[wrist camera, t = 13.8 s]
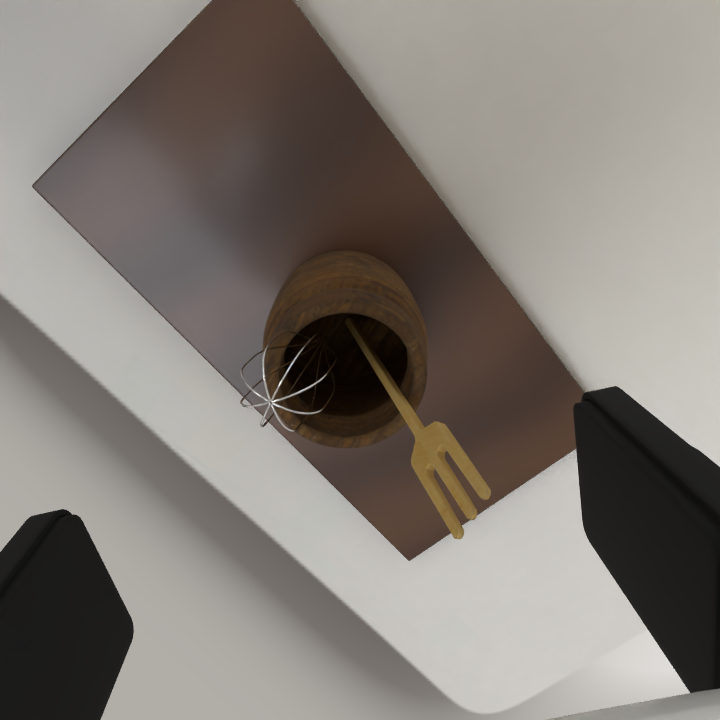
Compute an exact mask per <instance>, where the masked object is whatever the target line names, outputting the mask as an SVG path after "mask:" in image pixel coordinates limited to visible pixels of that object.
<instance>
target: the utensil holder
mask: <svg viewBox="0 0 720 720" xmlns="http://www.w3.org/2000/svg"><path fill="white" fill-rule="evenodd" d="M261 352H263V359H262V373H263V379H261V380H260V381H259V382H258V383H257V384H255V385H254V386H253V387H252V388H251V387H250V386H249V385H248V384H247V382H246V381H245V379H244V377H243V368H244V367H245V366H246V365H247V364H248V363H249V362H250V361H251V360H252V359H253V358H254V357H255V356H256V355H258V354H259V353H261ZM427 356H428V338H427V331H426V327H425V323H424V320H423V317H422V314H421V312H420V309H419V307H418V305H417V303H416V301H415V299H414V297H413V295H412V294H411V292H410V290H409V288H408V287H407V285H406V284H405V282H404V281H403V279H402V278H401V277H400V276H399V275H398V274H397V273H396V272H395V271H394V270H393V269H392V268H391V267H390V266H389V265H387V264H386V263H384V262H383V261H381V260H379V259H377V258H375V257H373V256H371V255H368V254H365V253H361V252H356V251H333V252H328V253H324V254H321V255H318V256H316V257H314V258H312V259H310V260H308V261H306V262H305V263H303V264H302V265H301V266H299V267H298V268H297V269H296V270H295V271H294V272H293V273H292V274H291V275H290V276H289V277H288V279H287V280H286V281H285V283H284V284H283V286H282V287H281V289H280V291H279V293H278V295H277V297H276V299H275V301H274V303H273V306H272V308H271V310H270V313H269V315H268V319H267V322H266V325H265V330H264V336H263V350H262V351H260V352H258V353H256V354H255V355H254V356H253V357H251V358H250V359H249V360H248V361H247V362H246V363H245V364H244V365H243V367H242V368H241V377H242V379H243V381H244V383H245V384H246V385H247V387H248V388H249V389H250V390H249V391H248V392H247V394H246V395H245V396H244V397H243V398H242V399H241V401H240V404H241V405H242V406H244V407H256V406H261V405H266V404H269V405H268V407H267V409H266V411H265V413H264V416H263V418H262V421H261V425H260V426H261V427H264V426H265V425H266V424H267V423H268V421H269V420H270V419H271V418H272V416H273V415H274V414H275V415H276V417H277V419H278V421H279V422H280V423H281V425H282V426H283V427H284V428H285V429H287V430H289V431H295V432H296V433H297V434H299V435H300V436H302V437H304V438H305V439H307V440H309V441H312V442H314V443H317V444H319V445H323V446H327V447H332V448H341V449H351V448H360V447H365V446H369V445H372V444H375V443H378V442H380V441H382V440H384V439H386V438H388V437H390V436H392V435H393V434H395V433H396V432H397V431H399V430H400V429H401V428H402V427H403V426H404V425H405V424H406V423H407V424H408V426H409V428H410V429H411V431H412V433H413V434H414V436H415V444H414V449H413V453H412V457H411V465H412V467H413V469H414V471H415V473H416V474H417V476H418V478H419V479H420V481H421V483H422V484H423V486H424V488H425V489H426V491H427V493H428V495H429V496H430V498H431V500H432V501H433V503H434V505H435V506H436V508H437V510H438V511H439V513H440V515H441V516H442V518H443V520H444V522H445V523H446V525H447V527H448V528H449V530H450V532H451V533H452V535H453V537H454V538H455V539H461V538H462V537H463V535H464V529H463V527H462V526H461V524H460V522H459V520H458V519H457V517H456V515H455V513H454V512H453V510H452V508H451V506H450V504H449V503H448V501H447V499H446V497H445V496H444V494H443V492H442V490H441V489H440V487H439V485H438V483H437V481H436V480H435V478H434V470H435V469H436V471H437V472H438V474H439V476H440V477H441V479H442V480H443V482H444V483H445V485H446V486H447V488H448V489H449V491H450V493H451V494H452V496H453V497H454V499H455V500H456V502H457V503H458V505H459V506H460V508H461V510H462V511H463V513H464V514H465V516H466V517H467V519H470V520H474V519H475V518H476V516H477V509H476V508H475V506H474V504H473V503H472V501H471V500H470V498H469V496H468V495H467V493H466V492H465V490H464V488H463V487H462V485H461V484H460V482H459V480H458V479H457V477H456V476H455V474H454V472H453V471H452V469H451V468H450V466H449V464H448V463H447V461H446V460H445V452H446V451H447V452H448V453H449V454H450V456H451V457H452V459H453V460H454V461H455V463H456V464H457V466H458V467H459V468H460V470H461V471H462V473H463V474H464V476H465V477H466V478H467V480H468V481H469V483H470V484H471V485H472V487H473V488H474V490H475V491H476V492H477V494H478V495H479V497H480V498H481V499H483V500H487V499H489V497H490V496H491V490H490V488H489V487H488V485H487V484H486V482H485V481H484V479H483V478H482V477H481V475H480V474H479V472H478V471H477V469H476V468H475V466H474V465H473V464H472V462H471V461H470V459H469V458H468V456H467V455H466V453H465V452H464V450H463V449H462V448H461V446H460V445H459V443H458V442H457V440H456V439H455V437H454V436H453V435H452V433H451V432H450V430H449V429H448V427H447V426H446V425H445V424H443V423H440V422H437V421H434V422H433V423H431V424H430V425H428V426H427V427H424V426H423V424H422V423H421V421H420V420H419V418H418V416H417V415H416V413H415V412H416V410H417V409H418V407H419V405H420V403H421V400H422V398H423V395H424V392H425V388H426V382H427V373H428V360H427ZM264 371H265V373H264ZM263 380H264V385H265V389H266V393H267V396H268V399H269V400H268V399H266V398H264V397H263V396H261V395H260V394H258V393H257V392H256V391H254V390H253V389H254V388H255V387H256V386H257V385H258V384H259V383H260V382H261V381H263ZM251 391H253V392H254V393H255V394H256V395H258V396H259V397H261V398H262V399H264V400H266V401H268V402H266V403H261V404H256V405H244V404H242V401H243V400H244V398H245V397H246V396H247V395H248V394H249V393H250V392H251ZM270 402H271V403H270ZM270 405H271V407H272V409H273V411H274V413H273V414H272V415H271V416H270V417H269V419H268V420H267V421H266V422H265V423H264V424H263V421H264V418H265V416H266V413H267V411H268V409H269V407H270ZM274 408H275V409H274ZM276 412H277V413H278V415H279V416H280V417H281V419H282V420H283V421H284V422H285V423H286V424H287V425H288V426H289V427H290V428H291V429H289V428H287V427H286V426H285V425H284V424H283V423H282V422H281V420H280V419H279V417H278V415H277V413H276ZM262 424H263V425H262Z"/></svg>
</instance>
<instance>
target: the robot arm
mask: <svg viewBox="0 0 720 720" xmlns="http://www.w3.org/2000/svg"><path fill="white" fill-rule="evenodd" d="M573 415H574V426H575V438H576V450H577V462H578V474H579V486H580V497H581V509H582V521H583V526H584V530H585V533H586V535H587V538H588V540H589V542H590V543H591V545H592V546H593V548H594V549H595V551H596V552H597V554H598V555H599V557H600V558H601V560H602V561H603V563H604V564H605V566H606V567H607V569H608V570H609V572H610V573H611V575H612V576H613V578H614V579H615V581H616V582H617V584H618V585H619V587H620V588H621V590H622V591H623V593H624V594H625V596H626V597H627V599H628V600H629V602H630V603H631V605H632V606H633V608H634V609H635V611H636V612H637V614H638V615H639V617H640V618H641V620H642V621H643V623H644V624H645V626H646V627H647V629H648V630H649V632H650V633H651V635H652V636H653V637H654V639H655V641H656V642H657V644H658V645H659V647H660V648H661V650H662V651H663V653H664V654H665V655H666V657H667V659H668V660H669V662H670V663H671V665H672V666H673V668H674V669H675V670H676V672H677V673H678V675H679V676H680V678H681V679H682V681H683V683H684V684H685V686H686V687H687V689H688V690H689V691H690V693H689V694H684V695H678V696H672V697H666V698H662V699H655V700H650V701H644V702H639V703H634V704H628V705H623V706H617V707H611V708H606V709H600V710H595V711H590V712H584V713H578V714H573V715H568V716H563V717H558V718H553V719H548V720H720V467H719V466H718V465H717V464H715V463H714V462H713V461H712V460H710V459H709V458H708V457H707V456H705V455H704V454H703V453H702V452H700V451H699V450H697V449H696V448H694V447H692V446H690V445H689V444H688V443H687V442H685V441H684V440H683V439H682V438H680V437H679V436H678V435H677V434H676V433H674V432H673V431H672V430H671V429H669V428H668V427H667V426H666V425H664V424H663V423H662V422H661V421H660V420H658V419H657V418H656V417H655V416H653V415H652V414H651V413H650V412H649V411H647V410H646V409H645V408H644V407H642V406H641V405H640V404H639V403H637V402H636V401H635V400H634V399H633V398H631V397H630V396H629V395H628V394H626V393H625V392H624V391H623V390H622V389H620V388H619V387H617V386H614V387H609V388H605V389H600V390H596V391H591V392H587V393H584V394H583V395H582V399H581V402H578V403H575V404H574V407H573ZM133 631H134V630H133V622H132V619H131V617H130V615H129V613H128V611H127V609H126V607H125V605H124V603H123V601H122V599H121V597H120V595H119V593H118V591H117V589H116V587H115V585H114V583H113V581H112V579H111V577H110V575H109V573H108V571H107V569H106V567H105V565H104V563H103V561H102V559H101V557H100V555H99V553H98V551H97V549H96V547H95V545H94V543H93V541H92V539H91V537H90V535H89V533H88V531H87V529H86V527H85V525H84V523H83V521H82V520H81V518H80V517H79V516H77V515H72V514H71V513H70V512H69V511H67V510H64V509H62V510H57V511H52V512H48V513H44V514H39V515H34V516H31V517H30V518H29V519H27V520H26V521H25V523H24V524H23V525H22V526H21V528H20V529H19V530H18V531H17V532H16V534H15V535H14V536H13V538H12V539H11V540H10V541H9V542H8V544H7V545H6V546H5V547H4V548H3V550H2V551H1V552H0V720H100V719H101V717H102V714H103V712H104V709H105V707H106V704H107V702H108V699H109V697H110V694H111V692H112V689H113V687H114V684H115V682H116V679H117V677H118V674H119V672H120V669H121V667H122V664H123V662H124V659H125V657H126V654H127V652H128V649H129V647H130V644H131V642H132V639H133Z"/></svg>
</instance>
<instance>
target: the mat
mask: <svg viewBox="0 0 720 720" xmlns="http://www.w3.org/2000/svg"><path fill="white" fill-rule="evenodd" d="M32 187H33V188H34V189H35V190H36V191H37V192H38V193H39V194H40V195H41V196H42V197H43V198H44V199H45V200H46V201H47V202H48V203H49V204H50V205H51V206H52V207H53V208H54V209H55V210H56V211H57V212H58V213H59V214H60V215H61V216H62V217H63V218H64V219H65V220H66V221H67V222H68V223H69V224H70V225H71V226H72V227H73V228H74V229H75V230H76V231H77V232H78V233H79V234H80V235H81V236H82V237H83V238H84V239H85V240H86V241H87V242H88V243H89V244H90V245H91V246H92V247H93V248H94V249H95V250H96V251H97V252H98V253H99V254H100V255H101V256H102V257H103V258H104V259H105V260H106V261H107V262H108V263H109V264H110V265H111V266H112V267H113V268H114V269H115V270H116V271H117V272H118V273H119V274H120V275H121V276H122V277H123V278H124V279H125V280H126V281H127V282H128V283H129V284H130V285H131V286H132V287H133V288H134V289H136V290H137V291H138V292H139V293H140V294H141V295H142V296H143V297H144V298H145V299H146V300H147V301H148V302H149V303H150V304H151V305H152V306H153V307H154V308H155V309H156V310H157V311H158V312H159V313H160V314H161V315H162V316H163V317H164V318H165V319H166V320H167V321H168V322H169V323H170V324H171V325H172V326H173V327H174V328H175V329H176V330H177V331H178V332H179V333H180V334H181V335H182V336H183V337H184V338H185V339H186V340H187V341H188V342H189V343H190V344H191V345H192V346H193V347H194V348H195V349H196V350H197V351H198V352H199V353H200V354H201V355H202V356H203V357H204V358H205V359H206V360H207V361H208V362H209V363H210V364H211V365H212V366H213V367H214V368H215V369H216V370H217V371H218V372H219V373H220V374H221V375H222V376H223V377H224V378H225V379H226V380H227V381H228V382H229V383H230V384H231V385H232V386H233V387H234V388H235V389H236V390H237V391H238V392H239V393H240V394H241V395H242V396H243V397H244V396H245V395H246V394H247V392H248V391H249V390H250V389H249V388H248V387H247V385H246V384H245V383H244V381H243V379H242V377H241V368H242V367H243V365H244V364H245V363H246V362H247V361H248V360H249V359H250V358H251V357H253V356H254V355H255V354H256V353H258V352H260V351H262V350H263V336H264V330H265V325H266V322H267V319H268V315H269V313H270V310H271V308H272V306H273V303H274V301H275V299H276V297H277V295H278V293H279V291H280V289H281V287H282V286H283V284H284V283H285V281H286V280H287V279H288V277H289V276H290V275H291V274H292V273H293V272H294V271H295V270H296V269H297V268H298V267H299V266H301V265H302V264H303V263H305V262H306V261H308V260H310V259H312V258H314V257H316V256H318V255H321V254H324V253H328V252H333V251H356V252H361V253H365V254H368V255H371V256H373V257H375V258H377V259H379V260H381V261H383V262H384V263H386V264H387V265H389V266H390V267H391V268H392V269H393V270H394V271H395V272H396V273H397V274H398V275H399V276H400V277H401V278H402V279H403V281H404V282H405V284H406V285H407V287H408V288H409V290H410V292H411V294H412V295H413V297H414V299H415V301H416V303H417V305H418V307H419V309H420V312H421V314H422V317H423V320H424V323H425V327H426V331H427V338H428V356H427V360H428V373H427V382H426V388H425V392H424V395H423V398H422V400H421V403H420V405H419V407H418V409H417V410H416V412H415V413H416V415H417V416H418V418H419V420H420V421H421V423H422V424H423V426H424V427H427V426H428V425H430V424H431V423H433V422H434V421H437V422H440V423H443V424H445V425H446V426H447V427H448V429H449V430H450V432H451V433H452V435H453V436H454V437H455V439H456V440H457V442H458V443H459V445H460V446H461V448H462V449H463V450H464V452H465V453H466V455H467V456H468V458H469V459H470V461H471V462H472V464H473V465H474V466H475V468H476V469H477V471H478V472H479V474H480V475H481V477H482V478H483V479H484V481H485V482H486V484H487V485H488V487H489V488H490V490H491V496H490V497H489V499H487V500H483V499H481V498H480V497H479V495H478V494H477V492H476V491H475V490H474V488H473V487H472V485H471V484H470V483H469V481H468V480H467V478H466V477H465V476H464V474H463V473H462V471H461V470H460V468H459V467H458V466H457V464H456V463H455V461H454V460H453V459H452V457H451V456H450V454H449V453H448V452H447V451H446V452H445V460H446V461H447V463H448V464H449V466H450V468H451V469H452V471H453V472H454V474H455V476H456V477H457V479H458V480H459V482H460V484H461V485H462V487H463V488H464V490H465V492H466V493H467V495H468V496H469V498H470V500H471V501H472V503H473V504H474V506H475V508H476V509H477V515H478V514H480V513H481V512H483V511H484V510H486V509H487V508H489V507H490V506H492V505H493V504H495V503H496V502H497V501H499V500H500V499H502V498H503V497H505V496H506V495H508V494H509V493H511V492H512V491H514V490H515V489H517V488H518V487H520V486H521V485H523V484H524V483H526V482H527V481H529V480H530V479H532V478H533V477H534V476H536V475H537V474H539V473H540V472H542V471H543V470H545V469H546V468H548V467H549V466H551V465H552V464H554V463H555V462H557V461H558V460H560V459H561V458H563V457H564V456H566V455H567V454H569V453H570V452H572V451H573V450H574V449H576V438H575V426H574V415H573V407H574V404H575V403H578V402H581V399H582V395H583V394H584V392H583V390H582V389H581V388H580V386H579V385H578V384H577V382H576V381H575V380H574V378H573V377H572V376H571V374H570V373H569V372H568V370H567V369H566V368H565V366H564V365H563V363H562V362H561V361H560V359H559V358H558V357H557V355H556V354H555V353H554V351H553V350H552V349H551V347H550V346H549V345H548V343H547V342H546V340H545V339H544V338H543V336H542V335H541V334H540V332H539V331H538V330H537V328H536V327H535V326H534V324H533V323H532V322H531V320H530V319H529V318H528V316H527V315H526V313H525V312H524V311H523V309H522V308H521V307H520V305H519V304H518V303H517V301H516V300H515V299H514V297H513V296H512V295H511V293H510V292H509V290H508V289H507V288H506V286H505V285H504V284H503V282H502V281H501V280H500V278H499V277H498V276H497V274H496V273H495V272H494V270H493V269H492V268H491V266H490V265H489V263H488V262H487V261H486V259H485V258H484V257H483V255H482V254H481V253H480V251H479V250H478V249H477V247H476V246H475V245H474V243H473V242H472V241H471V239H470V238H469V236H468V235H467V234H466V232H465V231H464V230H463V228H462V227H461V226H460V224H459V223H458V222H457V220H456V219H455V218H454V216H453V215H452V213H451V212H450V211H449V209H448V208H447V207H446V205H445V204H444V203H443V201H442V200H441V199H440V197H439V196H438V195H437V193H436V192H435V191H434V189H433V188H432V186H431V185H430V184H429V182H428V181H427V180H426V178H425V177H424V176H423V174H422V173H421V172H420V170H419V169H418V168H417V166H416V165H415V163H414V162H413V161H412V159H411V158H410V157H409V155H408V154H407V153H406V151H405V150H404V149H403V147H402V146H401V145H400V143H399V142H398V141H397V139H396V138H395V136H394V135H393V134H392V132H391V131H390V130H389V128H388V127H387V126H386V124H385V123H384V122H383V120H382V119H381V118H380V116H379V115H378V113H377V112H376V111H375V109H374V108H373V107H372V105H371V104H370V103H369V101H368V100H367V99H366V97H365V96H364V95H363V93H362V92H361V91H360V89H359V88H358V86H357V85H356V84H355V82H354V81H353V80H352V78H351V77H350V76H349V74H348V73H347V72H346V70H345V69H344V68H343V66H342V65H341V64H340V62H339V61H338V59H337V58H336V57H335V55H334V54H333V53H332V51H331V50H330V49H329V47H328V46H327V45H326V43H325V42H324V41H323V39H322V38H321V36H320V35H319V34H318V32H317V31H316V30H315V28H314V27H313V26H312V24H311V23H310V22H309V20H308V19H307V18H306V16H305V15H304V14H303V12H302V11H301V9H300V8H299V7H298V5H297V4H296V3H295V1H294V0H212V1H211V2H210V3H209V4H208V5H207V6H206V7H205V8H204V9H203V10H202V11H201V12H200V13H199V14H198V15H197V16H196V17H195V18H194V19H193V20H192V21H191V22H190V23H189V24H188V25H187V26H186V28H185V29H184V30H183V31H182V32H181V33H180V34H179V35H178V36H177V37H176V38H175V39H174V40H173V41H172V42H171V43H170V44H169V45H168V46H167V47H166V48H165V49H164V50H163V51H162V52H161V53H160V54H159V55H158V56H157V57H156V58H155V59H154V60H153V61H152V62H151V64H150V65H149V66H148V67H147V68H146V69H145V70H144V71H143V72H142V73H141V74H140V75H139V76H138V77H137V78H136V79H135V80H134V81H133V82H132V83H131V84H130V85H129V86H128V87H127V88H126V89H125V90H124V91H123V92H122V93H121V94H120V95H119V96H118V97H117V98H116V100H115V101H114V102H113V103H112V104H111V105H110V106H109V107H108V108H107V109H106V110H105V111H104V112H103V113H102V114H101V115H100V116H99V117H98V118H97V119H96V120H95V121H94V122H93V123H92V124H91V125H90V126H89V127H88V128H87V129H86V130H85V131H84V132H83V133H82V134H81V135H80V137H79V138H78V139H77V140H76V141H75V142H74V143H73V144H72V145H71V146H70V147H69V148H68V149H67V150H66V151H65V152H64V153H63V154H62V155H61V156H60V157H59V158H58V159H57V160H56V161H55V162H54V163H53V164H52V165H51V166H50V167H49V168H48V169H47V170H46V171H45V173H44V174H43V175H42V176H41V177H40V178H39V179H38V180H37V181H36V182H35V183H34V184H33V185H32ZM262 359H263V352H261V353H259V354H258V355H256V356H255V357H254V358H253V359H252V360H251V361H250V362H249V363H248V364H247V365H246V366H245V367H244V368H243V377H244V379H245V381H246V382H247V384H248V385H249V386H250V387H251V388H252V387H253V386H254V385H255V384H257V383H258V382H259V381H260V380H261V379H263V373H262ZM264 373H265V371H264ZM253 390H254V391H256V392H257V393H258V394H260V395H261V396H263V397H264V398H266V399H268V396H267V393H266V389H265V385H264V380H263V381H261V382H260V383H259V384H258V385H257V386H256V387H255V388H254V389H253ZM245 399H246V400H247V401H248V402H249V403H250V404H251V405H256V404H261V403H266V402H268V401H266V400H264V399H262V398H261V397H259V396H258V395H256V394H255V393H254V392H253V391H251V392H250V393H249V394H248V395H247V396H246V397H245ZM268 400H269V399H268ZM270 403H271V402H270ZM268 405H269V404H266V405H261V406H256V407H254V408H255V409H256V410H257V411H258V412H259V413H260V414H261V415H262V416H264V413H265V411H266V409H267V407H268ZM274 409H275V408H274ZM273 413H274V411H273V409H272V407H271V405H270V407H269V409H268V411H267V413H266V416H265V419H266V420H268V419H269V417H270V416H271V415H272V414H273ZM276 413H277V412H276ZM277 415H278V413H277ZM278 417H279V419H280V420H281V422H282V423H283V424H284V425H285V426H286V427H287V428H289V429H291V428H290V427H289V426H288V425H287V424H286V423H285V422H284V421H283V420H282V419H281V417H280V416H279V415H278ZM268 422H269V423H270V424H271V425H272V426H273V427H274V428H275V429H276V430H277V431H278V432H280V433H281V434H282V435H283V436H284V437H285V438H286V439H287V440H288V441H289V442H290V443H291V444H292V445H293V446H294V447H295V448H296V449H297V450H298V451H299V452H300V453H301V454H302V455H303V456H304V457H305V458H306V459H307V460H308V461H309V462H310V463H311V464H312V465H313V466H314V467H315V468H316V469H317V470H318V471H319V472H320V473H321V474H322V475H323V476H324V477H325V478H326V479H327V480H328V481H329V482H330V483H331V484H332V485H333V486H334V487H335V488H336V489H337V490H338V491H339V492H340V493H341V494H342V495H343V496H344V497H345V498H346V499H347V500H348V501H349V502H350V503H351V504H352V505H353V506H354V507H355V508H356V509H357V510H358V511H359V512H360V513H361V514H362V515H363V516H364V517H365V518H366V519H367V520H368V521H369V522H370V523H371V524H372V525H373V526H374V527H375V528H376V529H377V530H378V531H379V532H380V533H381V534H382V535H383V536H384V537H385V538H386V539H387V540H388V541H389V542H390V543H391V544H392V545H393V546H394V547H395V548H396V549H397V550H398V551H399V552H400V553H401V554H402V555H403V556H404V557H405V558H406V559H407V560H408V561H410V560H412V559H413V558H415V557H416V556H418V555H419V554H421V553H422V552H423V551H425V550H426V549H428V548H429V547H431V546H432V545H434V544H435V543H437V542H438V541H440V540H441V539H443V538H444V537H446V536H447V535H449V534H450V533H451V532H450V530H449V528H448V527H447V525H446V523H445V522H444V520H443V518H442V516H441V515H440V513H439V511H438V510H437V508H436V506H435V505H434V503H433V501H432V500H431V498H430V496H429V495H428V493H427V491H426V489H425V488H424V486H423V484H422V483H421V481H420V479H419V478H418V476H417V474H416V473H415V471H414V469H413V467H412V465H411V457H412V453H413V449H414V444H415V436H414V434H413V433H412V431H411V429H410V428H409V426H408V424H407V423H406V424H405V425H404V426H403V427H402V428H401V429H400V430H399V431H397V432H396V433H395V434H393V435H392V436H390V437H388V438H386V439H384V440H382V441H380V442H378V443H375V444H372V445H369V446H365V447H360V448H351V449H341V448H332V447H327V446H323V445H319V444H317V443H314V442H312V441H309V440H307V439H305V438H304V437H302V436H300V435H299V434H297V433H296V432H295V431H289V430H287V429H285V428H284V427H283V426H282V425H281V423H280V422H279V421H278V419H277V417H276V415H275V414H274V415H273V416H272V418H271V419H270V420H269V421H268ZM434 478H435V480H436V481H437V483H438V485H439V487H440V489H441V490H442V492H443V494H444V496H445V497H446V499H447V501H448V503H449V504H450V506H451V508H452V510H453V512H454V513H455V515H456V517H457V519H458V520H459V522H460V524H461V526H462V525H463V524H465V523H466V522H468V521H469V520H470V519H467V517H466V516H465V514H464V513H463V511H462V510H461V508H460V506H459V505H458V503H457V502H456V500H455V499H454V497H453V496H452V494H451V493H450V491H449V489H448V488H447V486H446V485H445V483H444V482H443V480H442V479H441V477H440V476H439V474H438V472H437V471H436V469H435V470H434Z"/></svg>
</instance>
